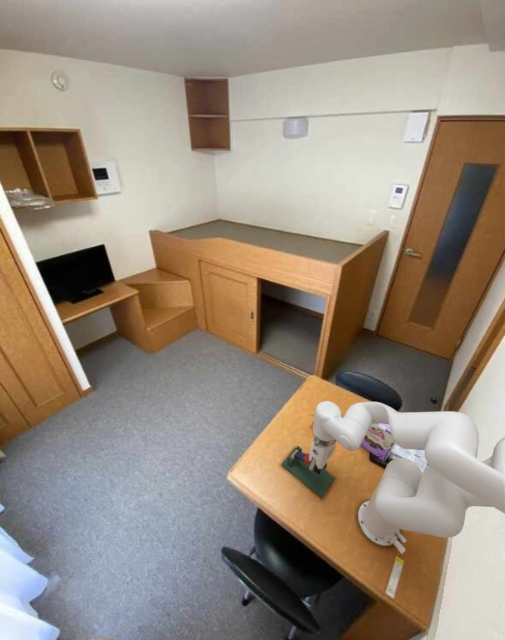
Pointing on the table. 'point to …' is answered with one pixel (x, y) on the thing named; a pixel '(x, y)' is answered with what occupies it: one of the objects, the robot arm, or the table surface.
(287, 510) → the table surface
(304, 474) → the stand
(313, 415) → the figurine
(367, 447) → the candy box
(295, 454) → the toy soldier
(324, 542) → the table surface
